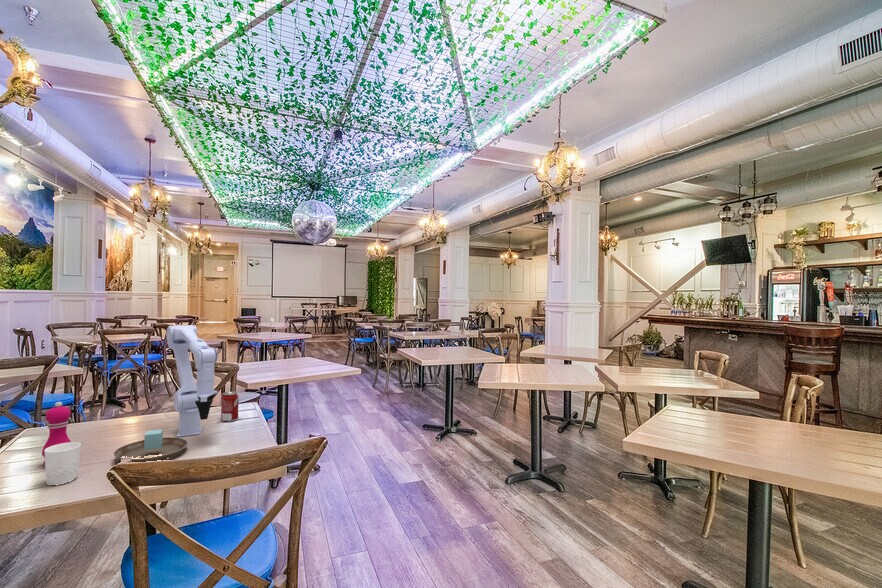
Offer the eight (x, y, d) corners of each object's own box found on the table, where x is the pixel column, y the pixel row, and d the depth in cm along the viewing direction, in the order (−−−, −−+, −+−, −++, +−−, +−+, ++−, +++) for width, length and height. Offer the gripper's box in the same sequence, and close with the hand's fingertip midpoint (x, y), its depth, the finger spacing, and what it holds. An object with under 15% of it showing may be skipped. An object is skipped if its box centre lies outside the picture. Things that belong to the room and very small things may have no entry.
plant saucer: (192, 442, 153) (192, 433, 153) (181, 463, 134) (181, 453, 134) (125, 449, 145) (125, 440, 145) (103, 473, 126) (103, 462, 126)
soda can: (230, 423, 176) (231, 395, 176) (217, 421, 177) (217, 394, 177) (241, 418, 182) (242, 391, 182) (228, 417, 184) (228, 390, 184)
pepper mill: (70, 457, 137) (71, 397, 137) (74, 463, 132) (75, 401, 132) (40, 464, 131) (41, 402, 131) (43, 470, 127) (44, 406, 127)
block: (146, 445, 141) (147, 431, 141) (162, 443, 143) (162, 429, 143) (144, 450, 137) (144, 435, 137) (160, 447, 139) (160, 433, 139)
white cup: (87, 474, 124) (87, 442, 124) (64, 487, 116) (64, 452, 116) (60, 474, 124) (61, 442, 124) (35, 487, 116) (36, 452, 116)
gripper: (216, 383, 149) (215, 420, 149) (218, 376, 162) (217, 410, 162) (194, 384, 146) (193, 422, 146) (197, 377, 159) (197, 412, 159)
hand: (204, 416), depth 154 cm, fingers open, 7 cm apart
